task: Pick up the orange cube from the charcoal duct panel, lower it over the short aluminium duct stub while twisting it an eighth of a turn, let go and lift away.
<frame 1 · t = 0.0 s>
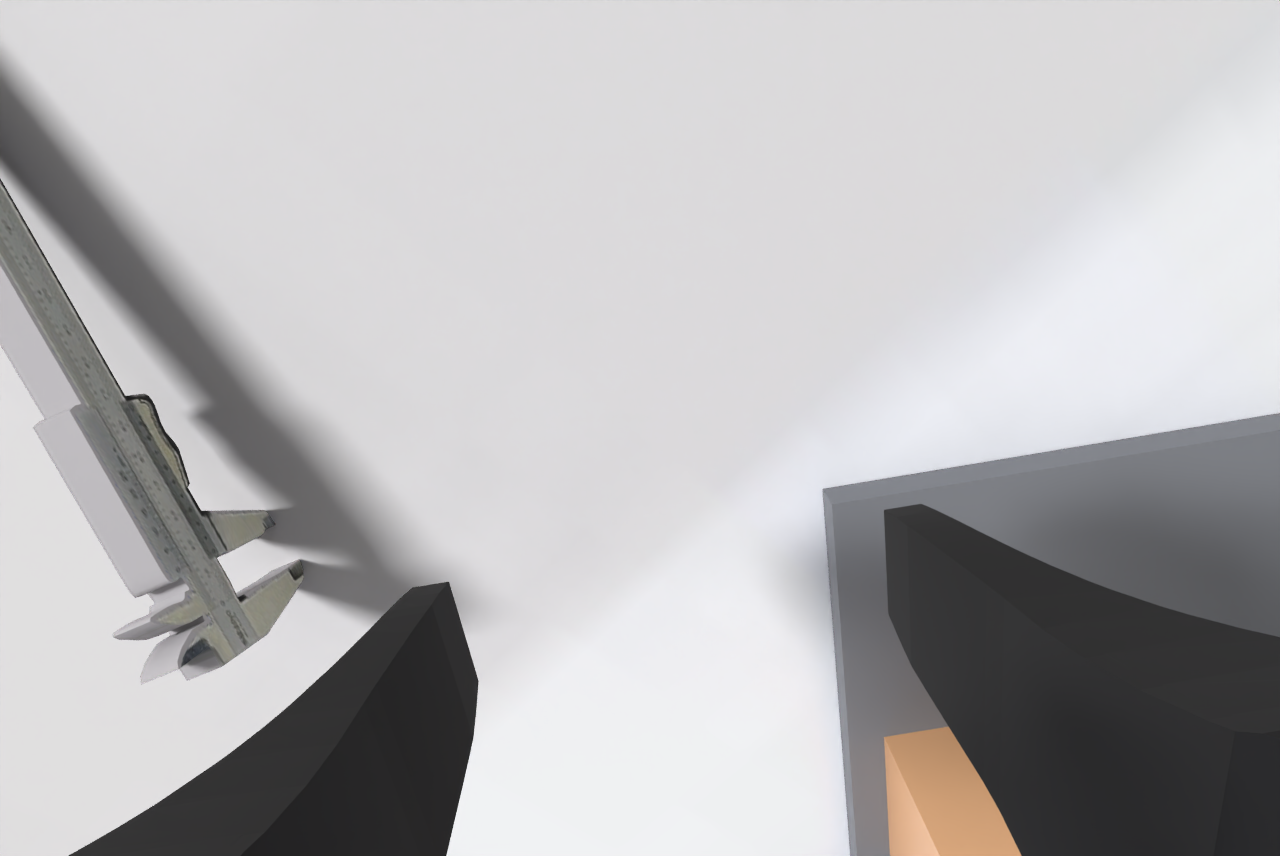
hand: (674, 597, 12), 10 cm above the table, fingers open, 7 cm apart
orange cube: (965, 785, 27), point 1 cm above the table, touching duct panel
duct panel: (1066, 679, 27), on the table
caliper: (83, 264, 20), on the table
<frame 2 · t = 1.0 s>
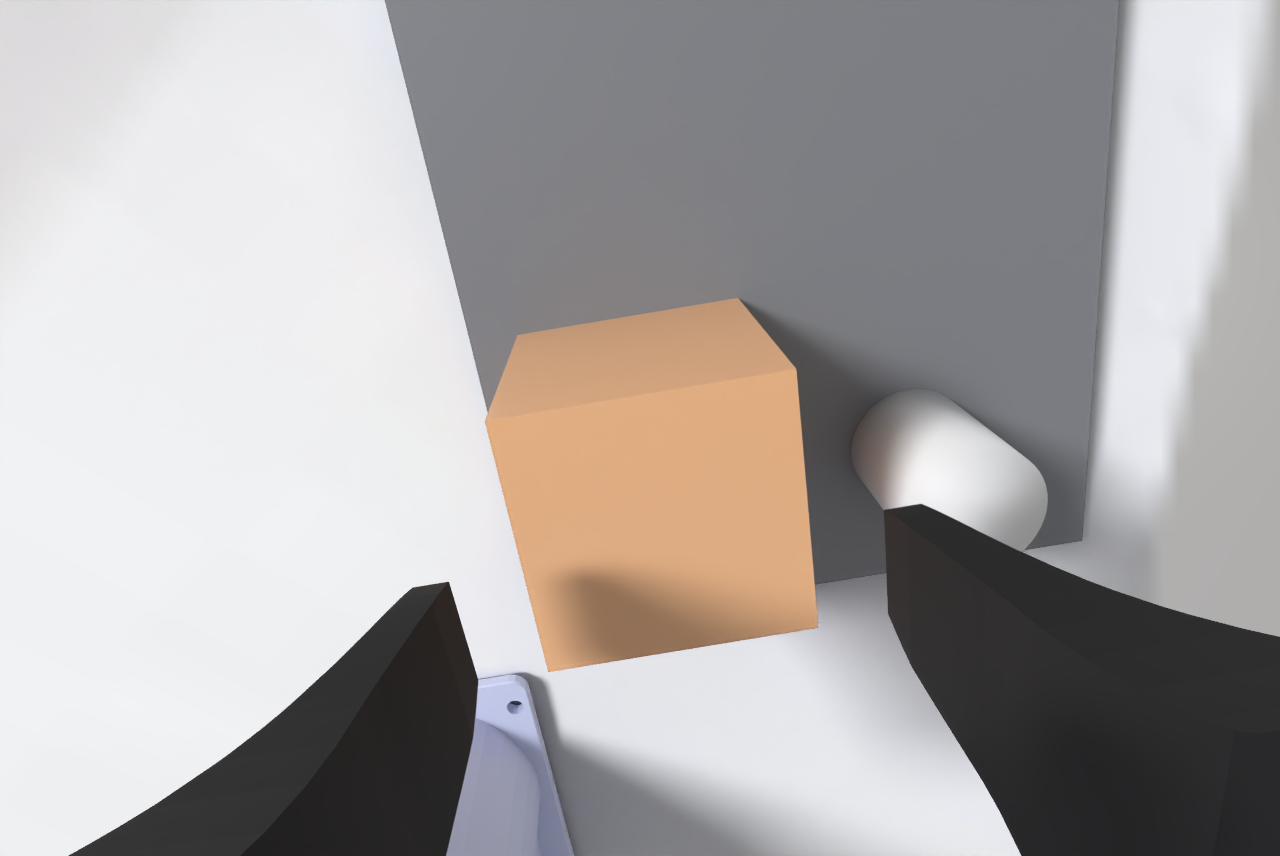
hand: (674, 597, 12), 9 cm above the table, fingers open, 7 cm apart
orange cube: (644, 419, 20), point 1 cm above the table, touching duct panel
duct panel: (776, 274, 20), on the table
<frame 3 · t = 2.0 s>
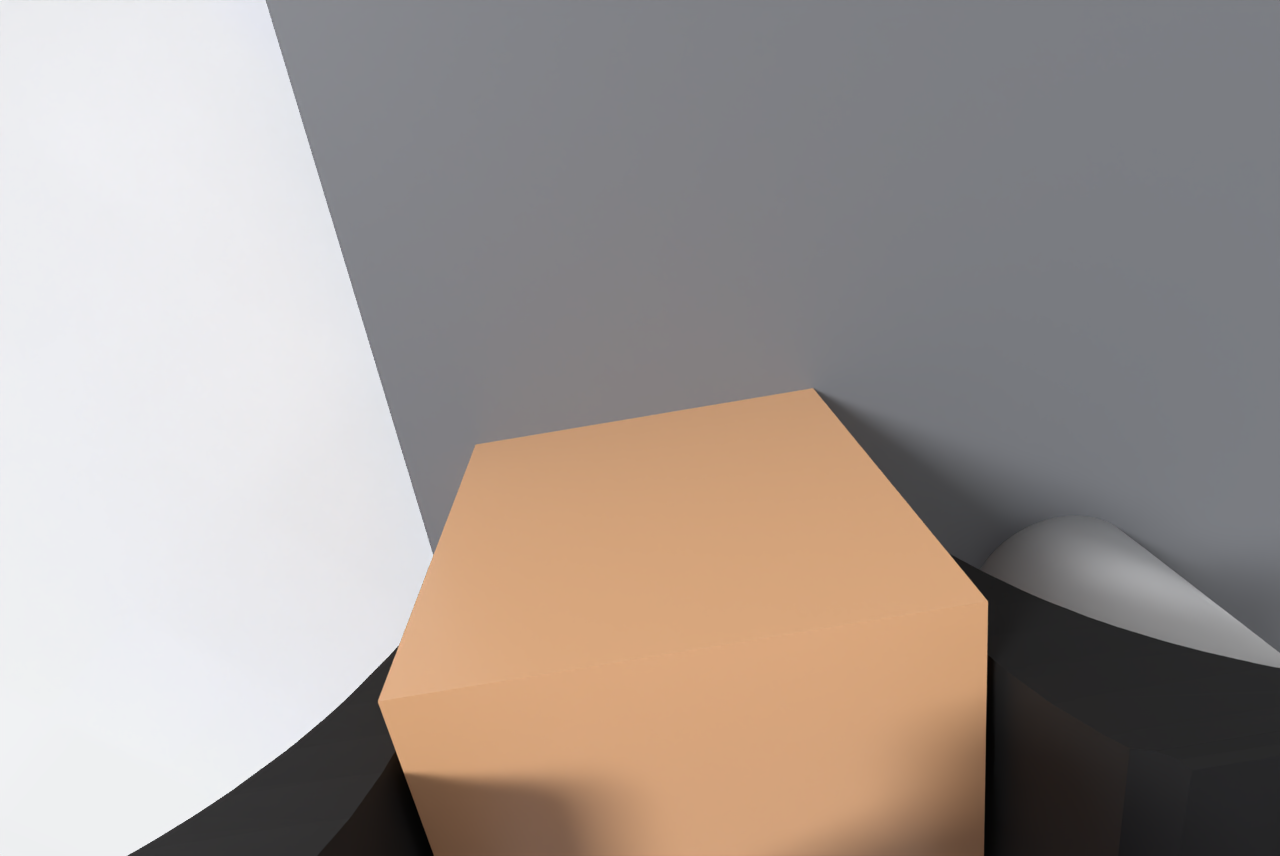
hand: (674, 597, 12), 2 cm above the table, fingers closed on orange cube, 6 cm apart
orange cube: (668, 561, 14), point 1 cm above the table, touching duct panel, gripper
duct panel: (865, 347, 13), on the table
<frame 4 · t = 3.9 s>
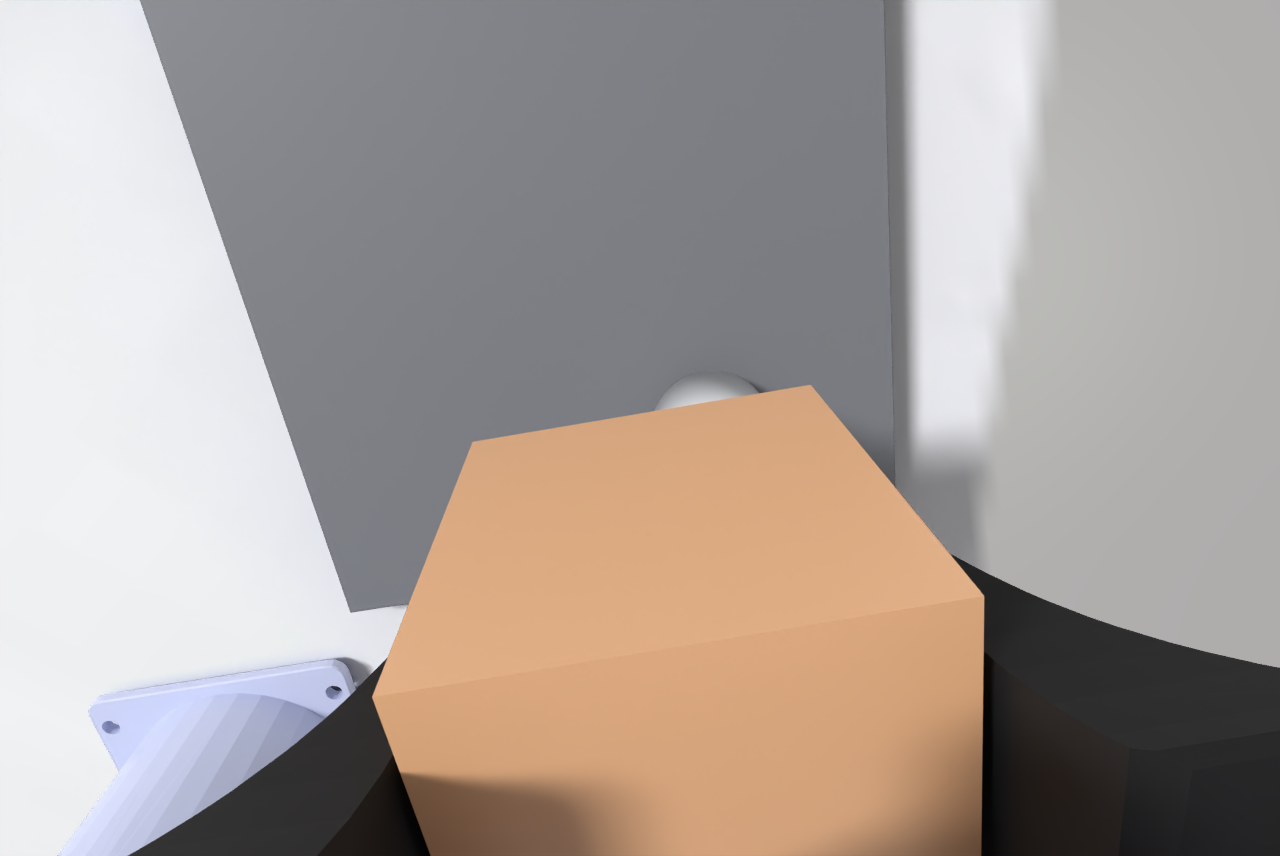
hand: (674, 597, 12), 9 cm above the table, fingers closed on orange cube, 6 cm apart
orange cube: (666, 559, 13), point 8 cm above the table, touching gripper
duct panel: (568, 253, 20), on the table
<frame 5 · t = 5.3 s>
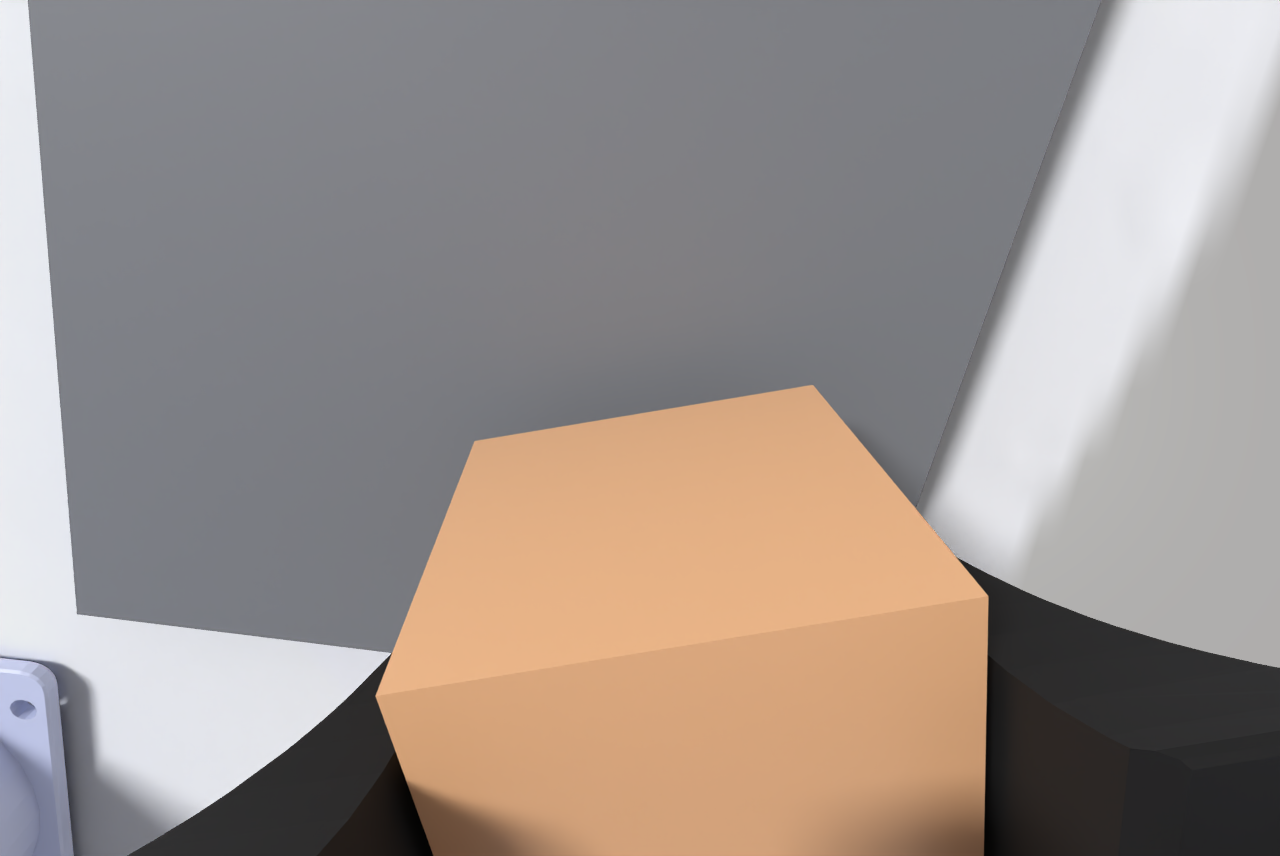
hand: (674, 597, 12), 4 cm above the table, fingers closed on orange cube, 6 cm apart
orange cube: (667, 558, 13), point 3 cm above the table, touching gripper
duct panel: (550, 227, 14), on the table
when the fingers open (3 cm above the table, at t = 6.1 s): orange cube stays where it is, resting on duct panel.
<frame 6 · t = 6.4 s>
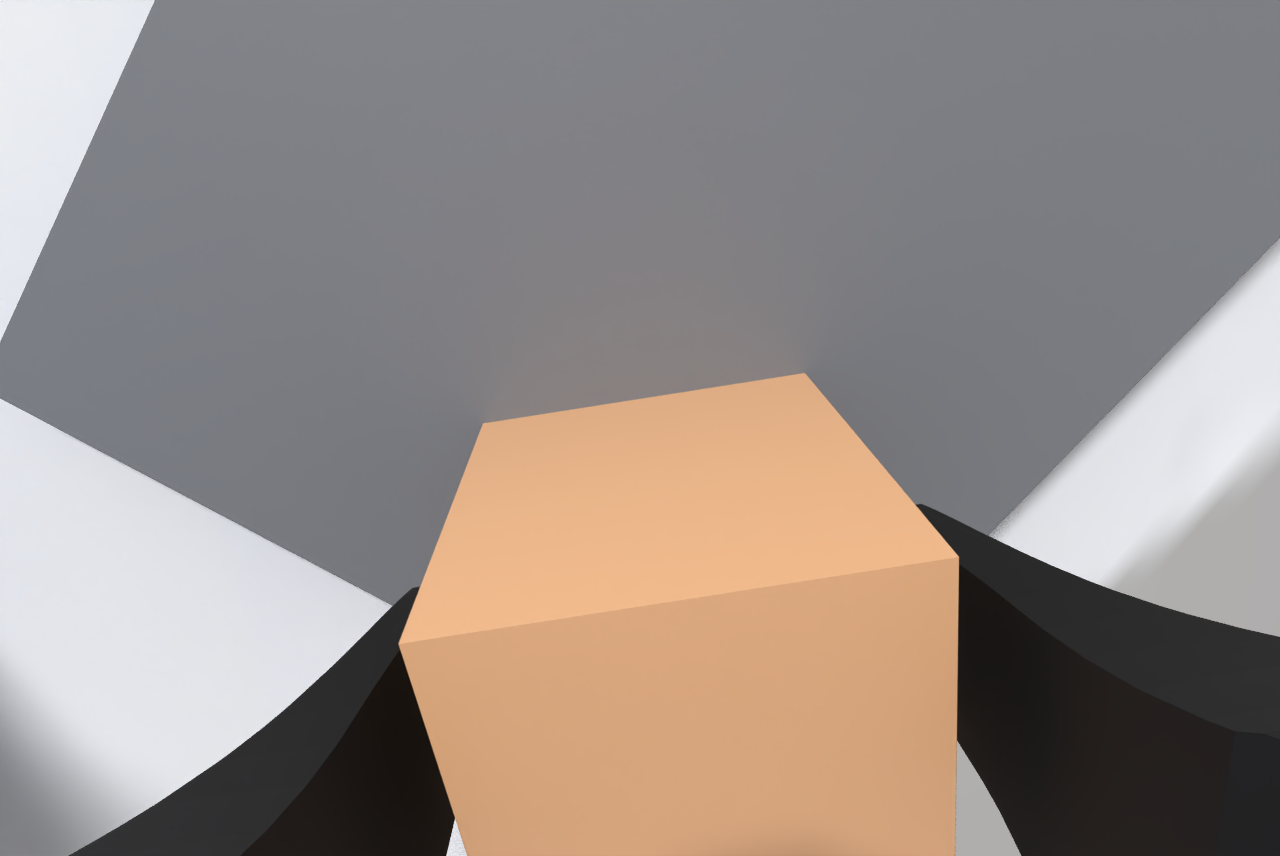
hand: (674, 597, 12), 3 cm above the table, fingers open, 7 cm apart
orange cube: (665, 538, 14), point 1 cm above the table, touching duct panel
duct panel: (694, 213, 13), on the table
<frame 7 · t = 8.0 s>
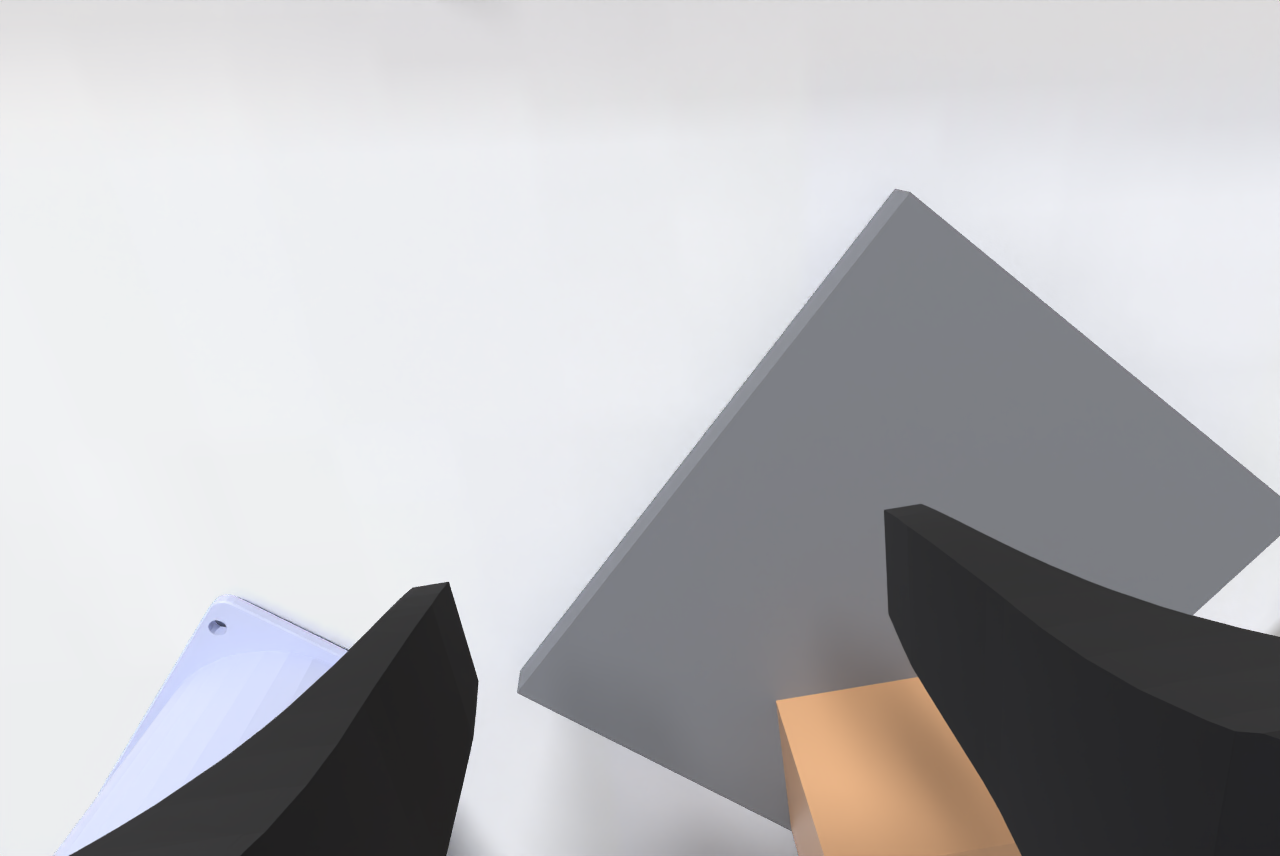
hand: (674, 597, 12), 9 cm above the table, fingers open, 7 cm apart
orange cube: (867, 753, 25), point 1 cm above the table, touching duct panel
duct panel: (890, 586, 24), on the table
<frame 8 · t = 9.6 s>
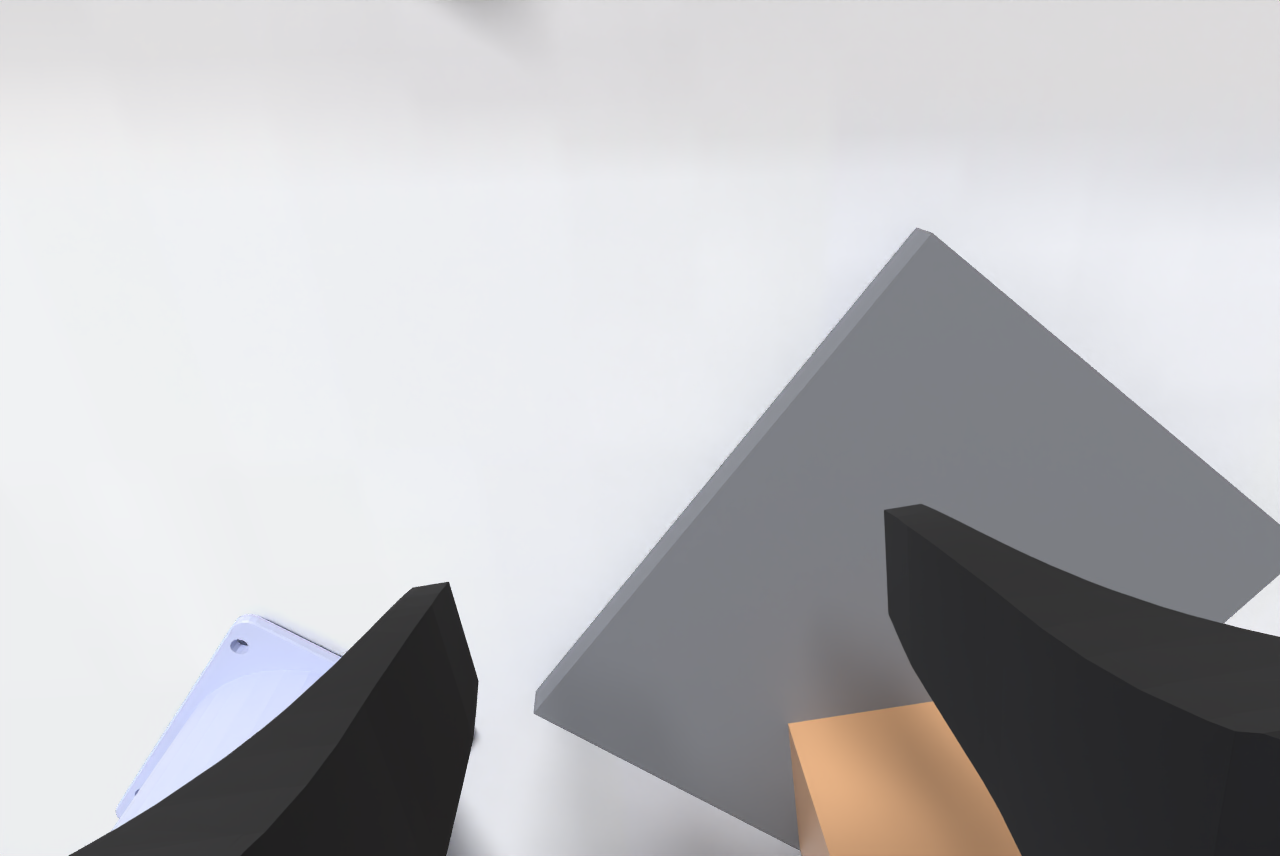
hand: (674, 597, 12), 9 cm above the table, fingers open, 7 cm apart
orange cube: (876, 775, 25), point 1 cm above the table, touching duct panel
duct panel: (902, 613, 24), on the table
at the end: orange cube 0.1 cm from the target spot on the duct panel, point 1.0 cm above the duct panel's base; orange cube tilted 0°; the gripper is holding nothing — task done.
